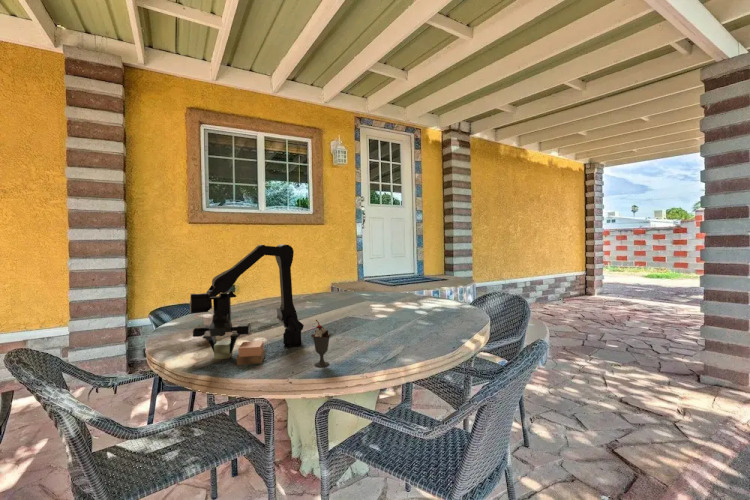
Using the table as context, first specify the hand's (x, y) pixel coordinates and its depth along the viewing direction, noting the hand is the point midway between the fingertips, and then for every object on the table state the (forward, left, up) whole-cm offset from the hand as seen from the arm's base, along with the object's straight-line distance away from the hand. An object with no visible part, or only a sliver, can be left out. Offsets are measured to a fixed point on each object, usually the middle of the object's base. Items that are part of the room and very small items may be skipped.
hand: (223, 353), depth 132 cm
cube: (0, 0, -1) cm, 1 cm away
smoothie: (+11, -25, -1) cm, 27 cm away
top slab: (-11, +6, +2) cm, 13 cm away
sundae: (-35, +15, -1) cm, 38 cm away
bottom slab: (-11, +6, -2) cm, 12 cm away
